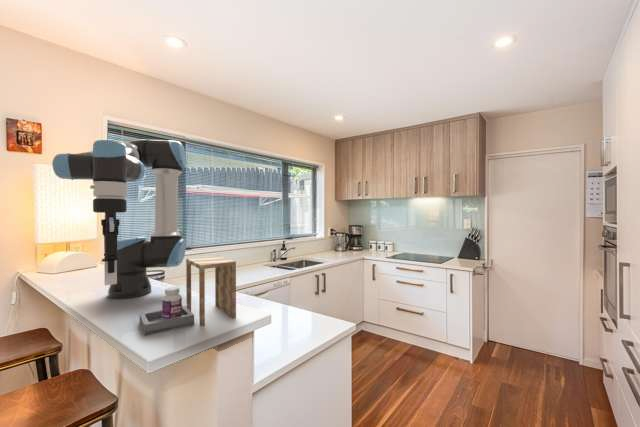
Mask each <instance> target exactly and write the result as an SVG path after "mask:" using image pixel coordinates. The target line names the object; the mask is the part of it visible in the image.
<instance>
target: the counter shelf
mask: <svg viewBox="0 0 640 427" xmlns="http://www.w3.org/2000/svg"><path fill="white" fill-rule="evenodd" d="M185 262H186V264H185V266H186V268H185V269H186V271H185V272H186V273H185V274H186V276H185V277H186V281H185V282H186V286H185V287H186V290H185V291H186V294H185V295H186V297H185V298H186V307H187V308H188V309H189V310H190V311H191V312H192V266H193V267H195V268H197V269H198V276H199V278H198V280H199V281H198V283H199V284H198V286H199V291H198V292H199V293H198V296H199V300H198V301H199V302H198V303H199V308H198V309H199V310H198V311H199V322H198V323H199V326H200V327H204V326H205V324H206V323H205V322H206V320H205V318H206V317H205V316H206V310H205V309H206V308H205V307H206V306H205V305H206V304H205V303H206V300H205V298H206V297H205V295H206V294H205V293H206V292H205V289H206V287H205V286H206V282H205V281H206V279H205V278H206V276H205V274H206V273H205V272H206V271H205V270H206V269H207V270H208V269H215V270H214V271H215V272H214V273H215V274H214V277H215V278H214V279H215V280H214V282H215V283H214V284H215V285H214V287H215V288H214V290H215V292H214V297H215V298H214V301H215V303H214V304H215V307H216V308H219V309H220V310H221V311H223V312H225V313H226V314H227V315H228V316H229V317H230V318H231V319H236V318H237V269H236V268H237V262H236V261H235V260H232V259H230V258H227V257H224V256H220V255H210V256H209V255H208V256H200V257H189V258H188V257H187V258H186V260H185Z"/></svg>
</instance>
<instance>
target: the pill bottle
mask: <svg viewBox="0 0 640 427" xmlns="http://www.w3.org/2000/svg"><path fill="white" fill-rule="evenodd" d="M164 294H165V295H164V296H163V297H162V299H161V300H162V305H161V307H162V308H161V310H162V320H164V319H169V318H174V317H179V316H182V306H183V301H182V300H183V297H182V295H181V294H180V287H177V286H175V287H174V286H173V287H167V288H165V289H164Z"/></svg>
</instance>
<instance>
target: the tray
mask: <svg viewBox="0 0 640 427" xmlns="http://www.w3.org/2000/svg"><path fill="white" fill-rule="evenodd" d="M138 317H139V318H138V319H139V326H140V328H141V331H142V332H143V335H144V336H150V335H154V334H159V333H163V332H168V331H171V330H176V329H180V328H185V327H189V326H194V325H195V313H193V312H192V310H191V311H190V310H189V309H188V308H187V305H182V316H179V317H174V318H169V319H164V320H162V309H159V310H154V311H148V312H142V313H139V315H138Z"/></svg>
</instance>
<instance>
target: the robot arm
mask: <svg viewBox="0 0 640 427" xmlns="http://www.w3.org/2000/svg"><path fill="white" fill-rule="evenodd" d="M187 159H188V158H187V154H186V150H185V147H184V144H182V143H181V142H180V141H178V140H171V139H142V138H141V139H135V140H134V139H133V140H128V141H124V142H120V141H117V140H116V141H115V140H108V139H99V140H96V141H95V140H94V142H93V144H92V150H91V151H86V152H80V153H79V152H78V153H70V152H68V153H58V154H56V155H55V156H54V157H53V159H52V163H51V165H52V170H53V172H54V174H55V175H56V177H58V178H59V179H63V180H72V181H74V180H92V182H93V184H91V185H90V186H89V188H90V189H92V190H93V191H92V195H93V197H94V199H92V212H94V213H97V214H98V213H104V218H103V219H101V221H100V224H101V227H102V233H101V234H102V235H103V239H104V240H103V246H104V247H103V248H104V253H103V256H104V257H103V258H102V259H101V262H104V266H103V267H104V286H109V288H108V290H107V291H108V292H107V294H108V295H107V297H108V298H110V299H130V298H135V297H136V298H137V297H141V296H145V295H147V294H150V293H151V292H152V285H151V281H150V279H149V276H148V274H147V269H149V268H151V269H154V268H166V269H167V268H173V267H179V266H180V265H181V264H182V263H183V261H184V259H185V255H186V248H187V246H186V245H187V244H186V239H184V238H182V234H181V233H180V232H179V231H178V220H179V219H178V218H179V217H178V213H179V212H178V210H179V209H178V208H179V206H178V205H179V176H180V175H181V174H183V169H186V168H187V167H188V166H187V165H188V162H187V161H188V160H187ZM146 168H151V172H153V173H154V175H155V192H154V193H155V195H154V197H155V198H154V200H155V201H154V202H155V204H154V211H155V212H154V231H153V233H152V234H151V235H150V239H147V237H146V236H138V237H137V236H136V237H129V238H122V239H118V235H119V226H120V219H117V213H126V212H127V209H128V207H127V204H128V203H127V199H125V198H127V197H128V196H127V194H128V191H127V189H128V187H127V185H128V183H127V182H137V181H139V180H141V179H142V178H143V177H144V176H145V173H146Z"/></svg>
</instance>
